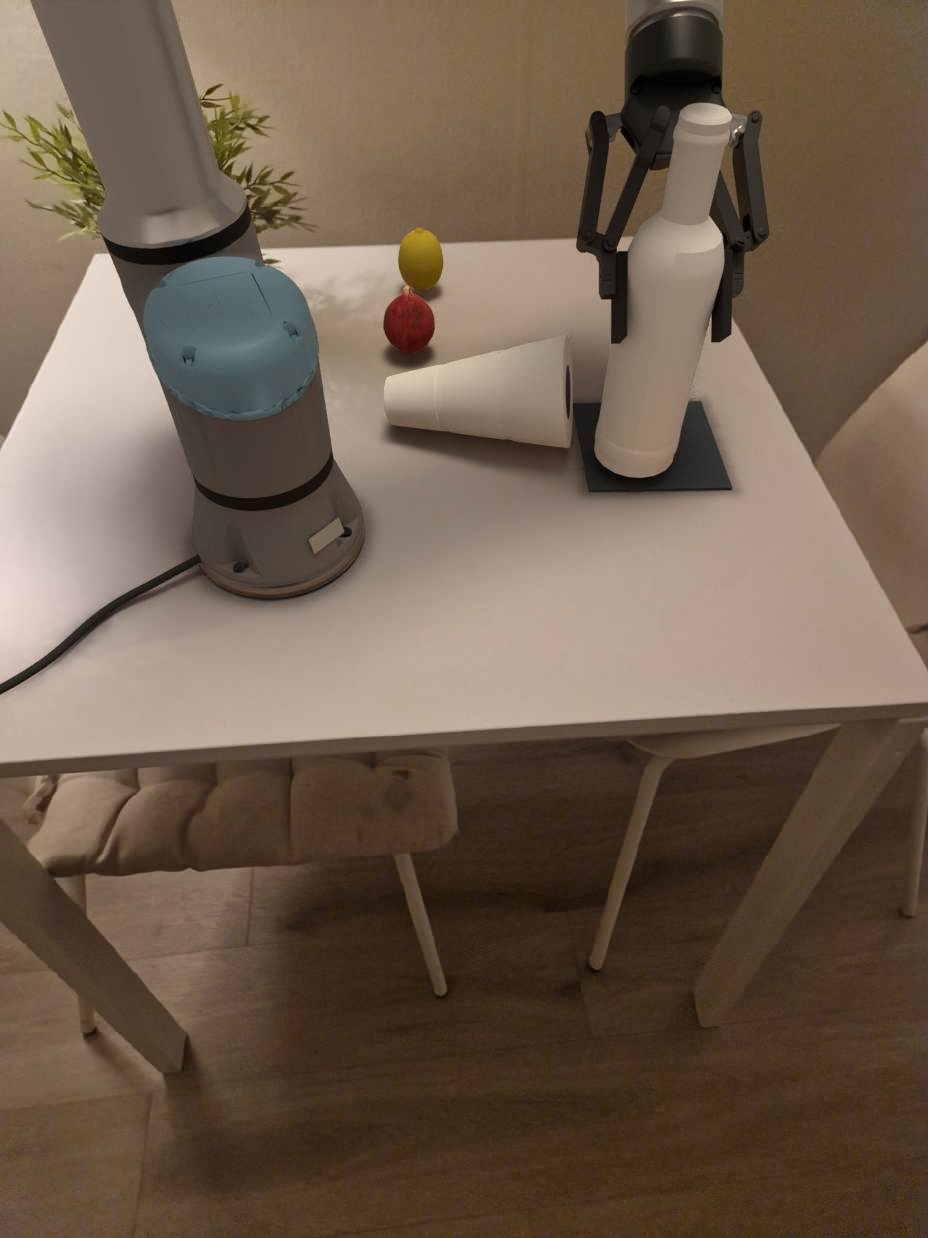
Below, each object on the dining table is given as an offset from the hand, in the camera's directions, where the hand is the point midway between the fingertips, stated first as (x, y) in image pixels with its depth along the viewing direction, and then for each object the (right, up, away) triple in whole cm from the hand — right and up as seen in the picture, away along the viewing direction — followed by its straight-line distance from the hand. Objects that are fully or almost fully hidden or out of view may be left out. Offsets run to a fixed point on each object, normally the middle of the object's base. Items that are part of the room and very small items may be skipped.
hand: (670, 338), depth 65 cm
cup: (-24, -1, +16) cm, 29 cm away
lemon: (-22, +18, +36) cm, 46 cm away
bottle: (0, -7, +14) cm, 15 cm away
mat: (+2, -5, +17) cm, 18 cm away
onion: (-23, +8, +27) cm, 36 cm away
